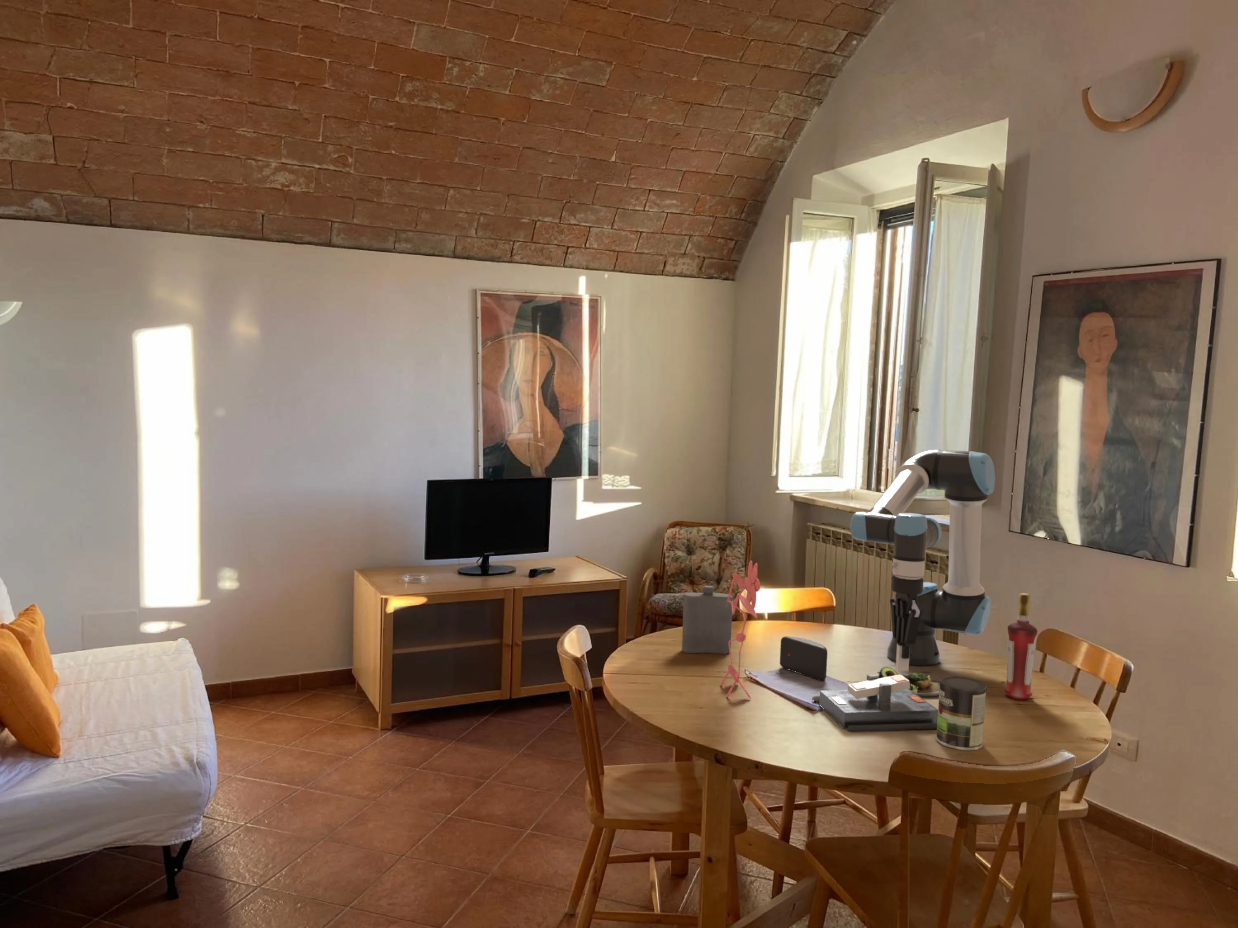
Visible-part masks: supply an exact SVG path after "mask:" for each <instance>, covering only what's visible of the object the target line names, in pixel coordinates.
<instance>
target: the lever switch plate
mask: <svg viewBox="0 0 1238 928" xmlns="http://www.w3.org/2000/svg"><path fill="white" fill-rule="evenodd" d="M873 679H879V676H878V674H877V673H875V674H872V673H871V674H868V673H867V674H866V681H868V680H873ZM819 696H820V701H819V702H818V705H819V704H820V705H821V706H822V707H823V708H824V710H823V711H824V712H825V713H826V714H827V715H828V717H830V718H832V720H833V721H835V722H836V724H838V725H839V726H840V727H841V728H842V729H843V730H848V726H849V725H878V724H915V723H937V721H938V708H936V707H935V706H934V705H933V704H930V702H928V701H926V700H925V699H923V697H919V696H918V695H916V694H915V693H914V692H912V691H911V690H909V689H905V690H900V691H894V692H891V685H890V684H889V683H880V684H879V695H874V696H869V697H864V698H859V699H856V698H855V697H854V696H853V695H851V694H850V693H849V692H848V689H842V690H841V689H837V690H834V689H831V690H819Z"/></svg>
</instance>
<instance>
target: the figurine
mask: <svg viewBox="0 0 1238 928" xmlns="http://www.w3.org/2000/svg"><path fill="white" fill-rule="evenodd" d="M758 566H759V565H758V563H757V562H756V563H755V564H754V565H753V560H750V561H749V562H748V566H747V577H745V578H744V580H743V579H742V578H741V576H740V575H739V574H737V572H734V573H733V574H732V580H731V585H730V588H729V592H728V594H729V595H728V599H727V602H729V603H731V606H732V616H734V615H735V613H736V609H737V610H738V611H740V613H742V614H743V615H744V619H743V625H742V631H738V632H737V633H736V634H735V638H733V639H731V640H730V641H728V644H729V652H730V653H729V658H730V664H728V665H727V672H726V673H725V675H724V677H723V679H722V680H721V682H720V684H719V686H720V687H722V686H723V685H724V682H725V681H726V679H727V678H728V676H729V675H730V677H732V679H733V680H734V682H733V683H732V685H731V686H730V689H729V690H728V691H727V694H726V697H727V698H729V696H730V694H731V693H732V691H733V689H734V687H735V686H736V684H739V685H740V686H741V688H742V690H743V691H744V693H745V694H746V695H747V697H748V698H749V699H750V700H751V699H752V697H751V696H750V694H749V692H748V690H747V688H746V686H745V685H744V683H743V682H742V680H741V677H740V673H741V672H740V671H741V650H742V648H743V644H744V642H745V640H747V639H746V638H747V637H746V636H747V635H746V633H745V632H744V631H745V627H746V623H747V618H748V615H747V613H746V612H745V611H744V610H743V609H741V608H740V607H738V606H737V605H738V603H739V601H740V603H741V604H742V606H743V607H744V608H745V610H746V611H747V612H748V613H749V614H750V615H751V616H752V617H754V618H755V619H758V615H757V613H756V610H755V608H756V604H757V592H759V591H760V589H761V583H760V580H759V578H758V575H759V574H758V569H759V568H758ZM734 584H736V585H738V587H739V588H740V589H741V590H740V592H738V593H737V594H736V597H735V598H734V599H733V602H732V601H730V600H729V599H730V595H732V590H733V586H734ZM744 590H745V591H746V597H745V596H744V595H742V593H743V592H744ZM735 641H737V642H739V643H740V647H739V650H738V671H737V670H736V668H735V667H734V666H733V658H732V653H731V652H732V650H731V649H732V648H731V649H730V642H731V643H732V642H735ZM751 681H752V682H755V680H753V679H751ZM728 704H729V705H735V703H734V702H728Z"/></svg>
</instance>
